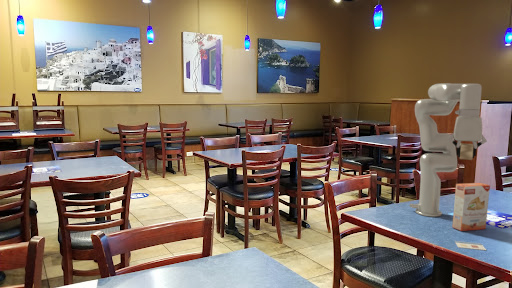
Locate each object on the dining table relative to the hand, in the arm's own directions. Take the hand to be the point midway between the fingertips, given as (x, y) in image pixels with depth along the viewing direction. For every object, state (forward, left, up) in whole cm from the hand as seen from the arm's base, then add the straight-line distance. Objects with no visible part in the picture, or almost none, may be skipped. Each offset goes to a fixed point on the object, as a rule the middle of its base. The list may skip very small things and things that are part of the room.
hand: (465, 156), depth 162 cm
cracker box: (+5, +15, -35) cm, 39 cm away
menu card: (+3, -9, -35) cm, 36 cm away
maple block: (0, 0, -1) cm, 1 cm away
